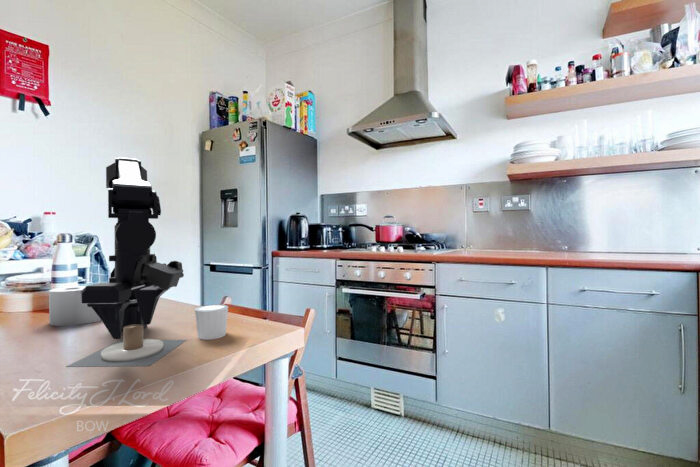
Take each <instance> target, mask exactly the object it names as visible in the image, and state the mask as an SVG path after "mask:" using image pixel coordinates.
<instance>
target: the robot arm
mask: <svg viewBox="0 0 700 467" xmlns="http://www.w3.org/2000/svg"><path fill="white" fill-rule="evenodd" d="M105 183H106V184H105V185H106V186H105V187H106V189H107V193H108V194H107V195H108V196H107V200H108V201H107V202H108V203H107V206H108V210H107V212H108V213H107V215H108V216H107V218H108V219H117V222H116V223H115V225H114V255H113V254H112V255H108V262H114V267H113V268H112V271H111V272H110V275H109V276H110V277H109V278H108V281H106V282H100V283H95V284H90V285H85V286H86V287H85V288H84V289H83V290H82V291H81V303H87V306H88V307H92V309H93V310H94V311H95V312H96V314H97V315H98V316H99V317H100V319H101V320H102V321H101V323H103V325H104V326H105V328H106V329H107V331H108V333H109V334H110V336H111V338H112V339H113V340H119V339H120V340H121V338H122V333H123V327H125V326H128V325H133V324H142V325H143V329H146V328H147V327H148V326H149V325H151V323H152V320H153V317H154V314H155V311H156V308H157V305H158V302H159V300H160V298H161V296H163V294H165V293H166V292H167V291H169V290H170V289H171V288H173V287H174V288H175V287H177V286H178V284H179V282H180V279H181V278H184V274H185V273H184V269H183V263H182V262H181V261H177V260H172V261H170V262H169V263H168V264H167V263H161V262H157V259H158V258H157V255H156V254H155V253H151V247H152V246H153V244H154V242H156V239H157V238H156V237H157V232H156V229H155V227H154V225H153V224H152V223H151V222H150V220H152V219H153V220H157V219H159V216H161V214H162V210H161V201H160V196H158V195H157V194H158V193H157V191H156V190H153V186H152V184H151V183H150V182H149V181H148V170H146V169H145V168H144V167H143V166H142V161H141V160H139V159H137V158H129V157H115V158H114V162H113V163H112V164H110V165H108V166H106V168H105Z"/></svg>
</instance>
